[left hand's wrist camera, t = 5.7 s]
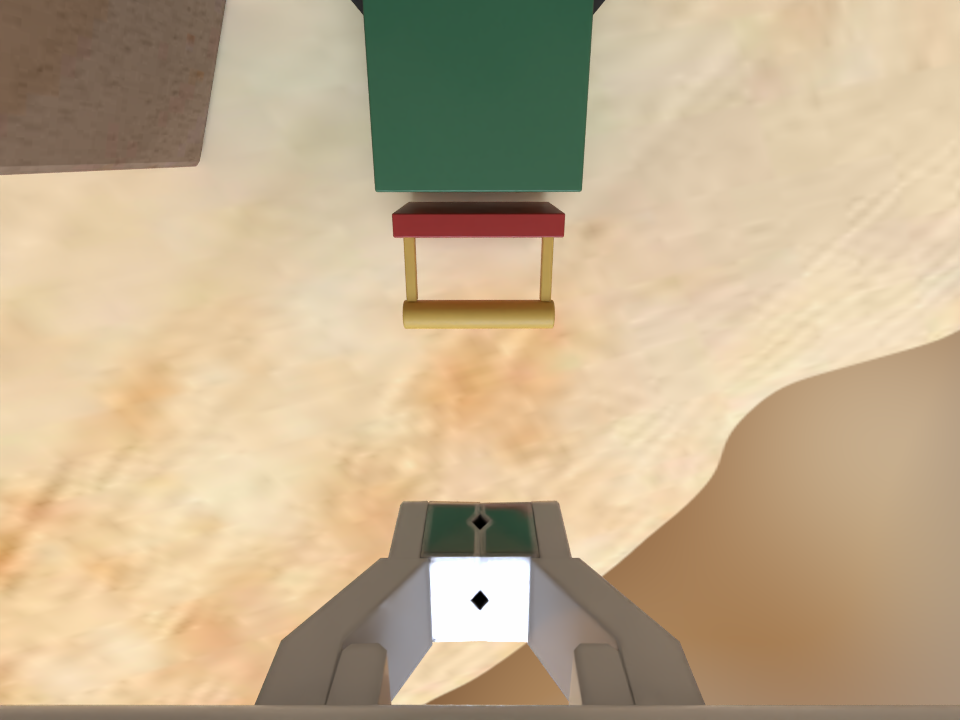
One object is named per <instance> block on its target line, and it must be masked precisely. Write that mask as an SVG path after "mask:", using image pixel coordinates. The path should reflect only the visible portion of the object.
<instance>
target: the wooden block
mask: <svg viewBox="0 0 960 720" xmlns="http://www.w3.org/2000/svg"><path fill="white" fill-rule="evenodd" d="M225 2H226V0H0V175H12V174H34V173H57V172H79V171H102V170H124V169H147V168H169V167H191V166H197V165H198V163H199V161H200V156H201V150H202V144H203V137H204V131H205V125H206V119H207V113H208V107H209V101H210V94H211V88H212V82H213V76H214V70H215V64H216V58H217V51H218V45H219V39H220V33H221V27H222V21H223V15H224V9H225Z"/></svg>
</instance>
